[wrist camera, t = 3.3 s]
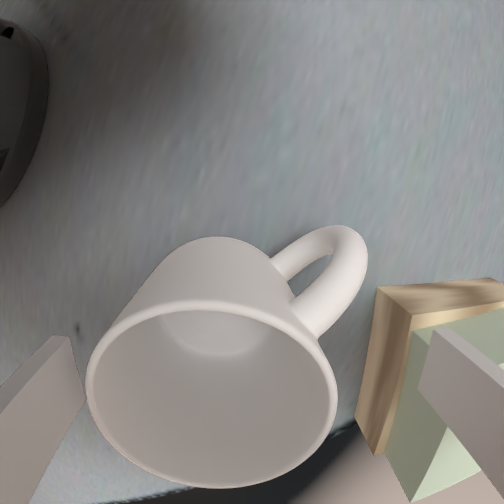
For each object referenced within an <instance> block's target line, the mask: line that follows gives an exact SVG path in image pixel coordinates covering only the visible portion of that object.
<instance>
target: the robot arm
mask: <svg viewBox="0 0 504 504" xmlns="http://www.w3.org/2000/svg"><path fill="white" fill-rule="evenodd" d="M47 95H48V69H47V63H46V58H45V54H44V52H43V49H42V47H41V45H40V43H39V42H38V40H37V39H36V38H35V37H34V36H33V35H32V34H31V33H30V32H28V31H27V30H25V29H23V28H22V27H20V26H19V25H17V24H15V23H13V22H11V21H8V20H4V19H0V206H1V205H2V204H3V203H4V202H5V201H6V200H7V199H8V198H9V196H10V195H11V194H12V193H13V191H14V190H15V188H16V187H17V185H18V183H19V182H20V180H21V178H22V177H23V175H24V173H25V171H26V169H27V167H28V165H29V162H30V160H31V158H32V155H33V153H34V150H35V148H36V145H37V142H38V139H39V135H40V132H41V128H42V125H43V120H44V116H45V110H46V104H47ZM417 389H418V390H419V392H420V393H421V394H422V395H423V396H424V398H425V399H426V400H427V401H428V402H429V404H430V405H431V406H432V407H433V409H434V410H435V411H436V412H437V414H438V415H439V416H440V417H441V418H442V420H443V421H444V422H445V423H446V425H447V426H448V427H449V428H450V430H451V431H452V432H453V433H454V435H455V436H456V437H457V439H458V440H459V441H460V442H461V444H462V445H463V446H464V447H465V449H466V450H467V451H468V453H469V454H470V455H471V456H472V458H473V459H474V460H475V462H476V463H477V464H478V466H479V467H480V468H481V469H482V471H483V472H484V473H485V475H486V476H487V477H488V479H489V480H490V481H491V483H492V484H493V485H494V487H495V488H496V489H497V491H498V492H499V493H500V495H501V496H502V498H503V499H504V370H503V369H502V368H501V367H499V366H498V365H497V364H496V363H494V362H493V361H492V360H491V359H489V358H488V357H487V356H485V355H484V354H483V353H482V352H480V351H479V350H478V349H476V348H475V347H474V346H473V345H471V344H470V343H469V342H467V341H466V340H465V339H463V338H462V337H461V336H459V335H458V334H457V333H455V332H454V331H453V330H451V329H450V328H449V327H444V328H438V329H433V332H432V336H431V341H430V345H429V349H428V353H427V357H426V360H425V364H424V368H423V371H422V375H421V378H420V381H419V385H418V388H417ZM85 400H86V396H85V393H84V390H83V387H82V383H81V380H80V377H79V373H78V369H77V366H76V362H75V358H74V354H73V350H72V346H71V342H70V338H69V337H64V336H55V335H52V336H51V337H50V338H49V339H48V340H47V341H46V342H45V343H44V344H43V345H42V346H41V347H39V348H38V349H37V350H36V351H35V352H34V353H33V354H32V355H31V356H30V357H29V358H28V359H27V360H26V361H25V362H24V363H23V364H22V365H21V366H20V367H19V368H18V369H17V370H16V371H15V372H14V373H13V374H12V375H11V376H10V377H9V378H8V379H7V380H6V382H5V383H4V384H3V385H2V386H1V387H0V504H29V502H30V500H31V498H32V496H33V494H34V492H35V490H36V488H37V486H38V484H39V482H40V480H41V478H42V476H43V475H44V473H45V471H46V469H47V467H48V465H49V463H50V461H51V460H52V458H53V456H54V454H55V452H56V451H57V449H58V447H59V445H60V443H61V442H62V440H63V438H64V436H65V435H66V433H67V431H68V429H69V428H70V426H71V424H72V422H73V421H74V419H75V417H76V416H77V414H78V412H79V410H80V409H81V407H82V405H83V404H84V402H85Z"/></svg>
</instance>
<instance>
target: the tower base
mask: <svg viewBox="0 0 504 504" xmlns="http://www.w3.org/2000/svg"><path fill="white" fill-rule="evenodd" d="M503 307H504V284H502V283H500V282H498V281H496V280H494V279H492V278H481V279H471V280H460V281H449V282H437V283H425V284H412V285H398V286H383V287H377V291H376V299H375V307H374V314H373V321H372V328H371V334H370V340H369V346H368V352H367V358H366V363H365V368H364V373H363V378H362V383H361V388H360V393H359V397H358V402H357V406H356V410H355V415H354V417H355V419H356V421H357V423H358V425H359V427H360V429H361V431H362V433H363V435H364V437H365V439H366V441H367V443H368V445H369V447H370V449H371V451H372V453H373V455H374V456H375V455H379V454H383V453H384V451H385V448H386V445H387V442H388V438H389V435H390V431H391V428H392V424H393V420H394V417H395V413H396V409H397V405H398V401H399V397H400V392H401V388H402V383H403V379H404V374H405V369H406V364H407V359H408V353H409V347H410V341H411V335H412V330H415V329H420V328H425V327H429V326H434V325H438V324H443V323H447V322H451V321H455V320H459V319H463V318H467V317H471V316H475V315H478V314H482V313H486V312H489V311H493V310H496V309H500V308H503Z"/></svg>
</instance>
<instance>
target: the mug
mask: <svg viewBox="0 0 504 504" xmlns="http://www.w3.org/2000/svg"><path fill="white" fill-rule="evenodd" d="M329 254H333V256H332V259H331V260H330V262H329V264H328V265H327V267H326V268H325V269H324V271H323V272H322V273H321V274H320V275H319V276H318V278H317V279H316V280H315V281H314V282H313V283H312V284H311V285H309V286H308V287H307V288H306V289H305V290H304V291H303V292H301V293H300V294H299V295H298V296H296V297H294V295H293V293H292V291H291V289H290V287H289V285H288V281H289V280H290V279H291V278H292V277H294V276H295V275H296V274H297V273H298V272H300V271H301V270H302V269H303V268H305V267H306V266H307V265H309V264H310V263H312V262H314V261H315V260H317V259H319V258H321V257H323V256H326V255H329ZM367 261H368V252H367V248H366V245H365V242H364V240H363V238H362V237H361V236H360V234H358V233H357V232H356V231H355V230H353V229H352V228H349V227H346V226H342V225H331V226H326V227H322V228H319V229H316V230H314V231H312V232H309V233H307V234H306V235H304V236H302V237H300V238H299V239H297V240H296V241H294V242H293V243H291V244H290V245H288V246H287V247H286V248H284V249H283V250H281V251H280V252H279V253H277V254H276V255H275V256H273V257H272V258H271V259H270V258H269V257H268V256H267V255H266V254H265V253H263V252H262V251H261V250H259V249H257V248H256V247H254V246H253V245H251V244H248V243H246V242H244V241H241V240H238V239H235V238H229V237H205V238H201V239H196V240H193V241H191V242H188V243H186V244H184V245H182V246H180V247H178V248H177V249H175V250H174V251H173V252H171V253H170V254H169V255H168V256H167V257H166V258H165V259H164V260H163V261H162V262H161V263H160V264H159V265H158V266H157V268H156V269H155V270H154V271H153V272H152V274H151V275H150V276H149V277H148V279H147V280H146V281H145V282H144V284H143V285H142V286H141V287H140V289H139V290H138V291H137V292H136V294H135V295H134V296H133V297H132V299H131V300H130V301H129V303H128V304H127V305H126V306H125V308H124V309H123V310H122V312H121V313H120V314H119V315H118V317H117V318H116V319H115V321H114V322H113V323H112V325H111V326H110V327H109V329H108V330H107V331H106V333H105V334H104V335H103V337H102V338H101V339H100V341H99V342H98V344H97V345H96V347H95V348H94V350H93V352H92V354H91V357H90V359H89V362H88V366H87V370H86V377H85V391H86V398H87V403H88V406H89V410H90V413H91V415H92V417H93V419H94V421H95V423H96V425H97V427H98V428H99V430H100V431H101V433H102V434H103V436H104V437H105V438H106V439H107V440H108V442H109V443H110V444H111V445H112V446H113V447H114V448H115V449H116V450H117V451H118V452H119V453H120V454H122V455H123V456H124V457H125V458H127V459H128V460H129V461H131V462H132V463H134V464H135V465H137V466H139V467H140V468H142V469H144V470H146V471H148V472H150V473H152V474H154V475H156V476H159V477H161V478H164V479H166V480H169V481H173V482H176V483H179V484H184V485H189V486H195V487H203V488H236V487H243V486H249V485H253V484H258V483H261V482H264V481H268V480H271V479H273V478H275V477H278V476H280V475H283V474H285V473H286V472H288V471H290V470H292V469H293V468H295V467H297V466H298V465H300V464H301V463H302V462H304V461H305V460H306V459H307V458H308V457H309V456H311V455H312V454H313V453H314V452H315V451H316V450H317V448H318V447H319V446H320V445H321V444H322V443H323V441H324V440H325V438H326V436H327V435H328V433H329V431H330V429H331V427H332V425H333V422H334V419H335V415H336V411H337V402H338V392H337V384H336V380H335V377H334V373H333V371H332V368H331V366H330V364H329V362H328V360H327V358H326V356H325V355H324V353H323V351H322V349H321V347H320V345H319V343H318V338H319V337H320V336H321V335H322V334H323V333H324V332H325V331H327V330H328V329H329V328H330V327H331V326H332V325H333V324H334V323H335V322H336V321H337V319H338V318H339V317H340V316H341V315H342V314H343V313H344V311H345V310H346V309H347V307H348V306H349V305H350V303H351V302H352V301H353V299H354V298H355V296H356V294H357V293H358V291H359V289H360V287H361V285H362V283H363V280H364V278H365V275H366V270H367Z"/></svg>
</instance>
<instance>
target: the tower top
mask: <svg viewBox="0 0 504 504" xmlns="http://www.w3.org/2000/svg"><path fill="white" fill-rule="evenodd" d="M444 327H449V328H450V329H451V330H453V331H454V332H455V333H457V334H458V335H459V336H461V337H462V338H463V339H465V340H466V341H467V342H469V343H470V344H471V345H473V346H474V347H475V348H476V349H478V350H479V351H480V352H482V353H483V354H484V355H485V356H487V357H488V358H489V359H491V360H492V361H493V362H494V363H496V364H497V365H498V366H499V367H501V368H502V369H503V370H504V307H503V308H500V309H496V310H493V311H489V312H486V313H482V314H478V315H475V316H471V317H467V318H463V319H459V320H455V321H451V322H447V323H443V324H438V325H434V326H429V327H425V328H420V329H415V330H412V335H411V341H410V347H409V353H408V359H407V364H406V369H405V374H404V379H403V383H402V388H401V392H400V397H399V401H398V405H397V409H396V413H395V417H394V420H393V424H392V428H391V431H390V435H389V438H388V442H387V445H386V448H385V451H384V453H385V455H386V457H387V459H388V461H389V463H390V465H391V467H392V469H393V471H394V473H395V475H396V476H397V478H398V480H399V482H400V484H401V486H402V488H403V490H404V492H405V494H406V496H407V498H408V500H409V502H410V503H412V502H414V501H417V500H419V499H422V498H424V497H427V496H429V495H431V494H434V493H436V492H438V491H441V490H443V489H445V488H447V487H450V486H452V485H454V484H456V483H458V482H460V481H462V480H464V479H466V478H468V477H470V476H472V475H474V474H476V473H477V472H479V471H481V470H482V469H481V468H480V467H479V466H478V464H477V463H476V462H475V460H474V459H473V458H472V456H471V455H470V454H469V453H468V451H467V450H466V449H465V447H464V446H463V445H462V444H461V442H460V441H459V440H458V439H457V437H456V436H455V435H454V433H453V432H452V431H451V430H450V428H449V427H448V426H447V425H446V423H445V422H444V421H443V420H442V418H441V417H440V416H439V415H438V414H437V412H436V411H435V410H434V409H433V407H432V406H431V405H430V404H429V402H428V401H427V400H426V399H425V398H424V396H423V395H422V394H421V393H420V392H419V390H418V389H417V388H418V385H419V381H420V378H421V375H422V371H423V368H424V364H425V360H426V357H427V353H428V349H429V345H430V341H431V336H432V332H433V329H438V328H444Z"/></svg>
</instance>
